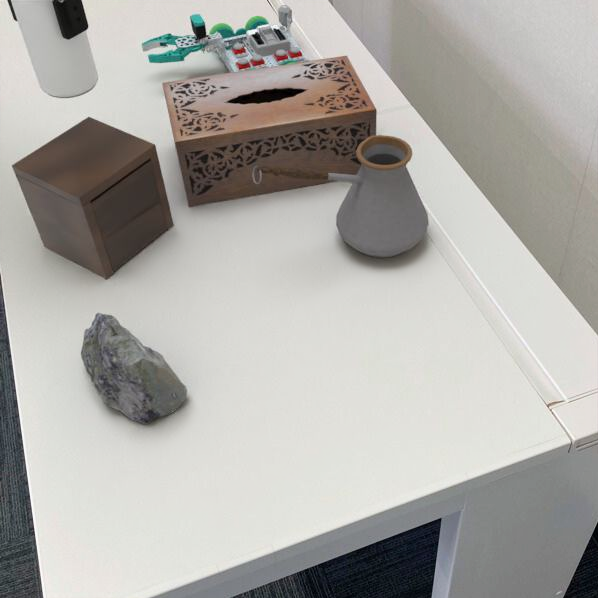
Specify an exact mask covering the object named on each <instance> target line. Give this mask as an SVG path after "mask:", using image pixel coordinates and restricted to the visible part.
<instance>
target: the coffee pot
mask: <svg viewBox="0 0 598 598" xmlns="http://www.w3.org/2000/svg"><path fill="white" fill-rule="evenodd" d="M356 155H357V158H358V160H359V161H360V162H361V164H362V166H361V168H360V170H359V171H358V173H357V175H348V174H336V173H328V172H323V171H317V170H312V169H306V168H300V167H287V168H281V167H280V166H279V165H276V166H274V167H269V166H267V165H265V166H254V168H253V172H252V176H253V181H254V183H255V184H260V182H261V178H262V173H265V174H268V173H273V174H274V175H275V176H279V175H280V174H281V175H284V176H288V177H292V178H295V179H317V180H327V179H328V180H335V181H334V182H343V183H351V185H350V187H349V189H348V191H347V193H346V195H345V196H344V199H343V201H342V202H341V204H340V206H339V208H338V210H337V213H336V216H335V217H336V218H335V221H336V222H335V224H336V228H337V230H338V232H339V234H340V236H341V237H342V240H344V241H345V242H346V244H347V245H348V246H350V247H352V248H353V249H355V250H356V251H358V252H360V253H362V254H364V255H366V256H370V257H372V258H373V257H374V258H391V257H396V256H398V255H400V254H403V253H404V252H407V251H410V250H411V249H412V248H414V247H415V246H416V245H418V244H419V242H420V241H421V240H422V239H423V237H424V236H425V235H426V233H427V230H428V227H429V223H430V222H429V215H428V212H427V209H426V207H425V204H424V202H423V200H422V199H421V196H420V195H419V192H418V189H417V188H416V185H415V183H414V180H413V179H412V175H411V174H410V172H409V170H408V167H407V165H408V163H409V162H410V161H411V159H412V157H413V150H412V147H411V145H410V144H409V143H408V142H407V141H405V140H403V139H402V138H400V137H396V136H392V135H382V134H378V135H377V134H376V135H372V136H370V137H368V138H367V139H365V140H364V141H363V142H361V143H360V145H359V146H358V148H357V150H356ZM256 167H257V171H258V172H260V179H259V182H258V183H256V182H255V178H254V171H255V168H256Z"/></svg>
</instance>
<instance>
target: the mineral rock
mask: <svg viewBox="0 0 598 598" xmlns="http://www.w3.org/2000/svg"><path fill="white" fill-rule="evenodd" d="M80 352H81V353H80V358H81V360H82V362H83V365H84V367H85V372H86V373H87V374H88V375H89V376H91V377H90V382H91V383H93V387H94V388H95V390H97V393H98V395H99V396H100V397H102V400H103V403H104V404H105V405H106V406H107V407H109V408H113V409H115V410H117V411H120V412H122V413H123V414H124V415H125V416H126V417H128V418H129V419H131V420H132V421H135V422H139V423H141V424H142V425H147V424H150V423H151V422H153V421H154V420H155V419H159V418H162V417H166V416H168V415H170V414H172V413H173V412H172V411H174V410H175V411H176V410H177V409H179V407H180V406H181V405H182V404H183V403H184V402H185V400H187V399H186V398H187V394H188V389H187V386H186V385H185V384H184V383H183V382H182V381H181V379H180V378H179V376H178V375H177V374H176V373H175V371H174V370H173V369H172V368H171V366H170V365H169V363H167V361H166V359H165V357H164V356H163V354H162V353H160V352H158V351H155V350H154V349H152V348H151V347H149V346H145V345H143V344H142V342H141V341H140V339H138V338H137V337H136V336H135V335H134V334H132V332H131V331H130V330H129V329H127V328H126V327H124V326H123V325H122V324H121V323H120V322H119V320H118V319H117V318H116V317H115V316H113V314H106V313H101V312H97V313H95V316H94V319H93V320H92V321H91V326H90V327H89V328H86V329H85V330H84V333H83V342H82V346H81V350H80ZM175 411H174V412H175ZM171 412H172V413H171ZM169 413H170V414H169ZM165 415H166V416H165ZM152 420H153V421H152ZM149 422H150V423H149ZM146 423H147V424H146Z"/></svg>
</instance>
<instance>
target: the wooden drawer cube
mask: <svg viewBox="0 0 598 598" xmlns="http://www.w3.org/2000/svg"><path fill="white" fill-rule="evenodd" d="M11 168H12V170H13V172H14V174H15V177H16V180H17V182H18V184H19V187H20V189H21V192H22V195H23V197H24V199H25V202H26V205H27V207H28V209H29V212H30V215H31V217H32V219H33V222H34V224H35V227H36V230H37V232H38V235H39V237H40V240H41V241H42V244H43V246H44V247H45V248H46V249H48V250H50V251H52V252H54V253H56V254H58V255H60V256H62V257H63V258H66V259H67V260H69V261H72V262H73V263H75V264H77V265H79V266H81V267H83V268H85V269H87V270H89V272H92V273H93V274H96V275H98V276H99V277H101V278H104V279H106V280H108V279H109V278H111V277H112V276H113V275H114V272H115V271H116V270H117V269H119V268H120V267H121V266H122V265H124V264H125V263H126V262H127V261H129V260H130V259H132V257H134V256H135V255H136V254H138V253H139V252H140V251H142V249H144V248H145V247H146V246H148V245H149V244H150V243H152V242H153V241H154V240H155V239H156V238H158V237H159V236H160V235H161V234H162V233H164V232H165V231H169V230H170V229H172V228H174V226H175V224H174V220H173V215H172V212H171V206H170V202H169V199H168V193H167V189H166V185H165V181H164V177H163V172H162V168H161V163H160V159H159V156H158V151H157V146H156V143H155V144H154V143H153V142H150V141H148V140H145V139H143V138H141V137H138V136H136V135H133V134H131V133H128V132H126V131H124V130H122V129H119V128H118V127H114V126H112V125H110V124H107V123H105V122H103V121H100V120H98V119H95V118H94V117H91V116H88V117H86V118H84V119H82V120H81V121H80V122H78V123H77V124H74V125H73V126H72V127H70V128H69V129H67V130H65V131H64V132H62V133H61V134H59V135H58V136H56V137H54V138H53V139H51V140H49V141H48V142H46V143H44V144H43V145H41V146H40V147H39V148H37V149H35V150H34V151H33V152H30V153H29V154H27V155H26V156H24V157H23V158H21V159H19V160H18V161H16V162H15V163H13V164H12V165H11Z"/></svg>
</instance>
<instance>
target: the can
mask: <svg viewBox="0 0 598 598" xmlns="http://www.w3.org/2000/svg"><path fill="white" fill-rule="evenodd" d="M52 1H53V0H11V3H12V6H13V9H14V12H15V15H16V18H17V21H18V22H17V21H16V22H17V24H18V26H19V29H20V32H21V36H22V38H23V42H24V44H25V48H26V50H27V53H28V56H29V59H30V62H31V65H32V68H33V71H34V73H35V76H36V79H37V83H38V85H39V88H40V90H41V91H42V92H44V93H45V94H47V95H48V96H50V97H52V98H56V99H72V98H78V97H81V96H83V95H85V94H88V93H89V92H90V91H92V90H93V89H95V87H96V85H97V83H98V81H99V74H98V70H97V66H96V63H95V59H94V54H93V52H92V47H91V44H90V40H89V36H88V32H87V30H86V31H84V32H82V33H80V34H79V35H77V36H75V37H73V38H71V39H70V40H67V39H65V38H63V36H62V34H61V30H60V27H59V24H58V20H57V17H56V14H55V10H54V7H53V3H52Z"/></svg>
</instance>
